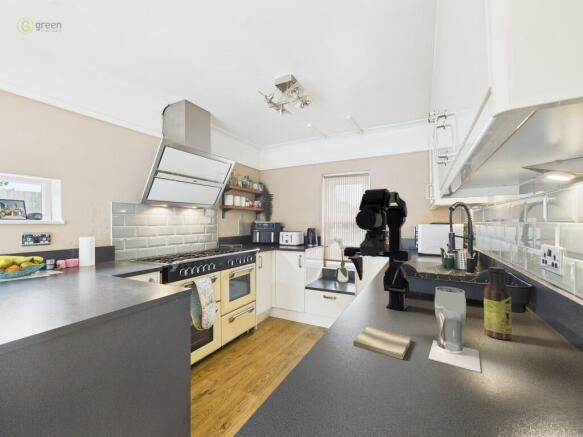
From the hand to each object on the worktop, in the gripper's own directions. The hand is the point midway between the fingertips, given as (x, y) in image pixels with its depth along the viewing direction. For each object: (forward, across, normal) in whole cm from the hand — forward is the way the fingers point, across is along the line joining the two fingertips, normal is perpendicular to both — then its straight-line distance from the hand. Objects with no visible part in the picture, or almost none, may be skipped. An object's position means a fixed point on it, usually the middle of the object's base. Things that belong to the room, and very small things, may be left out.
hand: (375, 282), depth 77 cm
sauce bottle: (+15, +30, +18) cm, 38 cm away
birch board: (+15, +4, -7) cm, 16 cm away
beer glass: (+15, +19, 0) cm, 24 cm away
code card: (+15, +20, -3) cm, 25 cm away
